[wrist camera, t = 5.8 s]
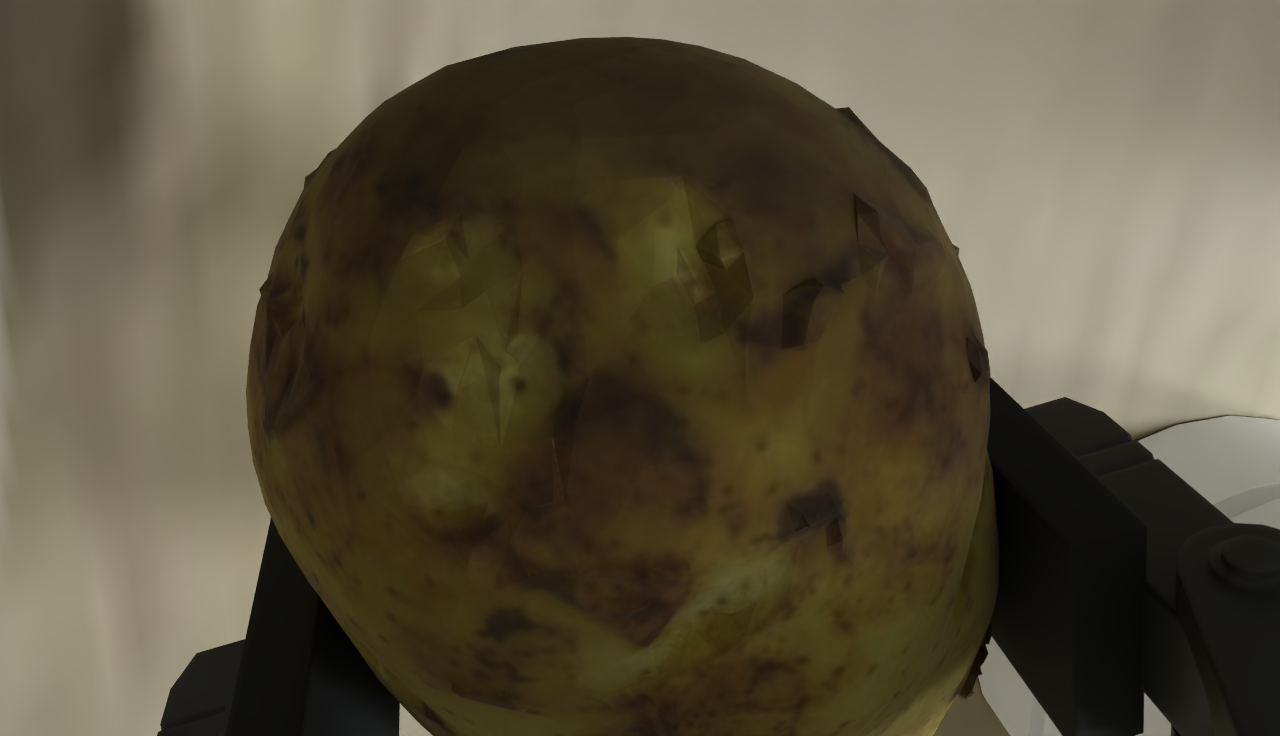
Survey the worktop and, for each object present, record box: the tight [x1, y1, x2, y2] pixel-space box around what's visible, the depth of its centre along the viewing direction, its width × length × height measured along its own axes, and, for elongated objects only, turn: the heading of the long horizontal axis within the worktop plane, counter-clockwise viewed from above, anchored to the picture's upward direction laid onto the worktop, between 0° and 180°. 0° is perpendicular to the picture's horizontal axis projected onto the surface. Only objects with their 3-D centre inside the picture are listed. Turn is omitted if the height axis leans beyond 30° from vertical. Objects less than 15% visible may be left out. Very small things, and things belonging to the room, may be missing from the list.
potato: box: [246, 37, 1000, 736], centre depth 13 cm, size 8×13×8 cm, turn 175°
